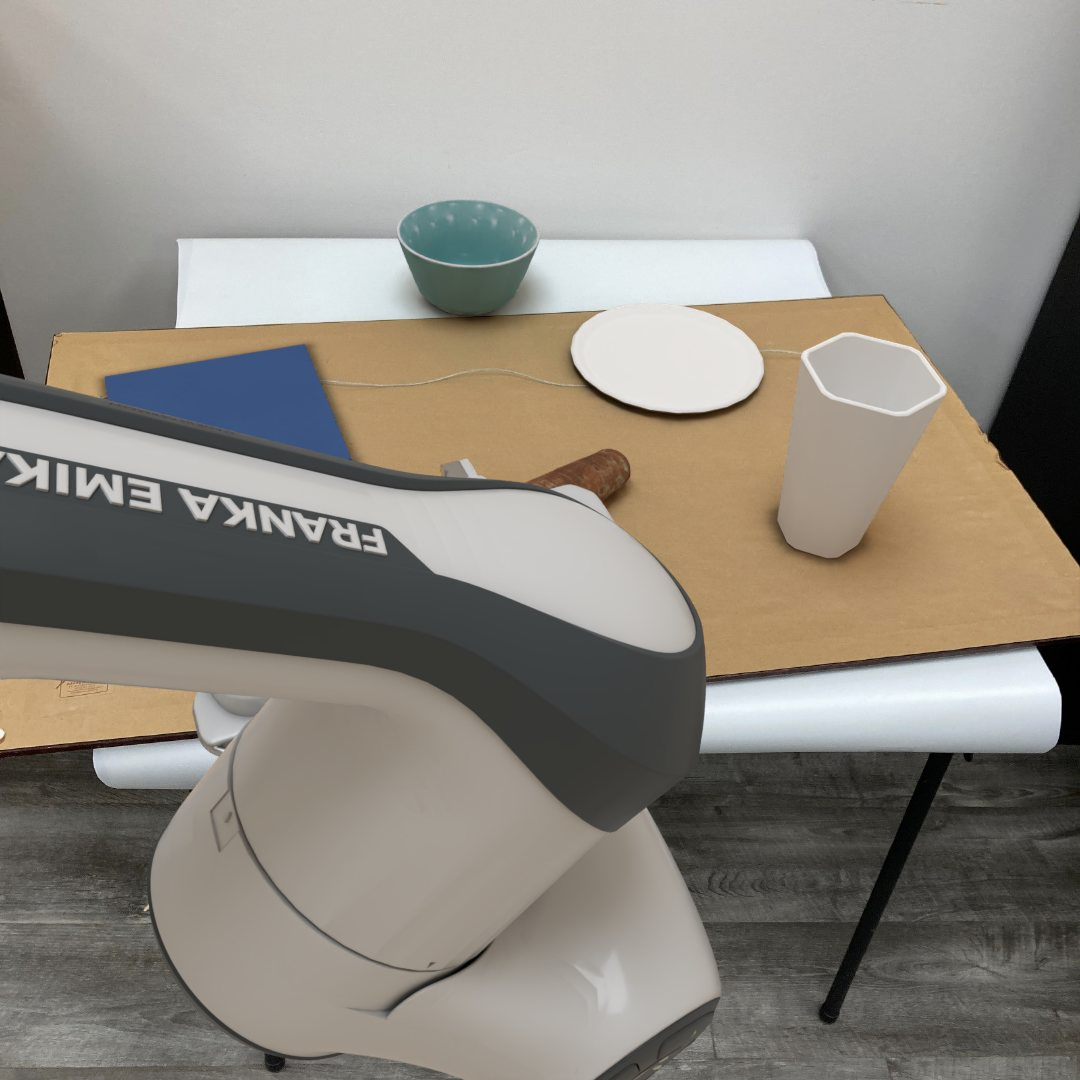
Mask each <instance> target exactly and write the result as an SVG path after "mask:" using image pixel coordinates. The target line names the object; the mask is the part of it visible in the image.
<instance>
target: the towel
mask: <svg viewBox="0 0 1080 1080" xmlns="http://www.w3.org/2000/svg"><path fill="white" fill-rule="evenodd" d="M104 382H105V388H106V395H107V400H109V401H114V402H118V403H122V404H126V405H130V406H134V407H138V408H142V409H146V410H150V411H154V412H158V413H162V414H166V415H170V416H174V417H178V418H182V419H186V420H190V421H194V422H198V423H202V424H206V425H210V426H215V427H219V428H223V429H227V430H231V431H235V432H239V433H243V434H247V435H251V436H255V437H259V438H263V439H267V440H271V441H276V442H280V443H284V444H288V445H292V446H296V447H300V448H304V449H308V450H312V451H316V452H320V453H324V454H328V455H332V456H336V457H340V458H344V459H348V460H352V457H351V454H350V452H349V450H348V449H349V448H348V447H347V444H346V441H345V439H344V437H343V434H342V432H341V430H340V427H339V424H338V422H337V420H336V417H335V414H334V412H333V410H332V407H331V405H330V403H329V400H328V397H327V394H326V393H325V390H324V388H323V385H322V382H321V380H320V378H319V375H318V373H317V370H316V368H315V366H314V363H313V361H312V358H311V355H310V352H309V351H308V349H307V346H306V344H305V343H302V344H295V345H289V346H283V347H277V348H271V349H265V350H260V351H259V350H258V351H254V352H253V351H252V352H247V353H241V354H234V355H229V356H222V357H217V358H209V359H204V360H197V361H192V362H185V363H179V364H172V365H167V366H160V367H155V368H147V369H143V370H136V371H129V372H124V373H117V374H111V375H105V376H104Z"/></svg>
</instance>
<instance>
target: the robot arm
mask: <svg viewBox="0 0 1080 1080" xmlns="http://www.w3.org/2000/svg"><path fill="white" fill-rule="evenodd" d="M439 472H440V474H441V475H432V474H423V473H415V472H409V471H402V470H396V469H391V468H387V467H381V466H378V465H373V464H369V463H364V462H360V461H355V460H353V459H351V460H348V459H344V458H340V457H336V456H332V455H328V454H324V453H320V452H316V451H312V450H308V449H304V448H300V447H296V446H292V445H288V444H284V443H280V442H276V441H271V440H267V439H263V438H259V437H255V436H251V435H247V434H243V433H239V432H235V431H231V430H227V429H223V428H219V427H215V426H210V425H206V424H202V423H198V422H194V421H190V420H186V419H182V418H178V417H174V416H170V415H166V414H162V413H158V412H154V411H150V410H146V409H142V408H138V407H134V406H130V405H126V404H122V403H118V402H114V401H109V400H108V399H105V398H100V397H97V396H92V395H89V394H85V393H81V392H77V391H73V390H68V389H65V388H60V387H56V386H52V385H48V384H44V383H39V382H36V381H32V380H27V379H24V378H20V377H15V376H12V375H6V374H4V373H3V374H2V373H0V681H3V680H45V681H46V680H47V681H60V682H71V683H72V682H74V683H85V684H95V685H96V684H97V685H107V686H122V687H131V688H132V687H133V688H143V689H157V690H169V691H181V692H193V693H195V696H194V699H193V702H192V712H191V713H192V717H193V721H194V725H195V730H196V734H197V739H198V741H199V743H200V744H201V746H202V747H203V748H204V749H205V751H207V752H208V753H210V754H212V755H214V756H216V757H217V758H216V759H215V761H214V762H213V764H212V765H211V766H210V767H209V769H208V770H207V771H206V773H205V774H204V775H203V776H202V777H201V779H200V780H199V781H198V782H197V784H196V785H195V786H194V788H193V789H191V791H190V793H189V794H188V795H187V797H186V798H185V799H184V800H183V802H182V803H181V805H180V806H179V807H178V809H177V810H176V812H175V814H174V815H173V817H172V819H171V820H170V821H169V822H168V823H167V824H166V826H164V828H163V829H162V831H161V832H160V834H159V835H158V838H157V839H156V841H155V843H154V846H153V848H152V852H151V854H150V855H151V856H150V858H149V864H148V869H147V879H146V881H147V882H146V885H147V886H146V892H147V893H146V894H147V902H148V912H149V918H150V923H151V927H152V930H153V931H152V932H153V934H154V937H155V940H156V943H157V947H158V950H159V951H160V954H161V956H162V959H163V961H164V964H165V965H166V967H167V970H168V971H169V973H170V975H171V976H172V978H173V980H174V982H175V983H176V984H177V986H178V987H179V989H180V990H181V992H182V993H183V995H184V996H185V997H186V998H187V999H188V1001H189V1002H190V1003H191V1004H192V1006H193V1007H194V1008H195V1009H196V1010H197V1011H198V1013H200V1014H201V1015H202V1016H203V1017H204V1018H205V1019H206V1020H207V1022H209V1023H210V1024H211V1025H212V1026H214V1027H215V1028H217V1030H219V1031H221V1032H222V1033H224V1034H225V1035H226V1036H228V1037H229V1038H230V1039H232V1040H234V1041H236V1042H237V1043H240V1044H241V1045H244V1046H245V1047H248V1048H250V1049H253V1050H256V1051H258V1052H260V1053H263V1054H268V1055H270V1056H275V1057H279V1058H283V1059H288V1060H295V1061H319V1060H325V1059H330V1058H334V1057H338V1056H339V1057H340V1056H342V1055H345V1054H346V1055H347V1054H348V1055H354V1056H355V1055H356V1056H363V1057H372V1058H379V1059H384V1060H388V1061H389V1060H390V1061H394V1062H395V1061H396V1062H400V1063H404V1064H409V1065H414V1066H418V1067H422V1068H426V1069H430V1070H433V1071H437V1072H439V1073H444V1074H447V1075H450V1076H453V1077H456V1078H458V1079H461V1080H648V1079H650V1078H651V1077H652V1076H653V1075H654V1074H655V1073H657V1072H658V1071H659V1070H660V1069H662V1068H663V1067H664V1066H666V1065H667V1064H668V1063H669V1062H670V1061H672V1060H673V1059H674V1058H676V1056H678V1055H679V1054H680V1053H681V1052H683V1051H684V1050H686V1049H687V1048H688V1047H689V1046H691V1045H692V1044H693V1043H694V1042H695V1041H696V1040H697V1039H698V1038H699V1037H700V1036H701V1034H702V1033H703V1032H704V1031H705V1030H706V1029H707V1027H708V1026H709V1025H710V1024H711V1022H712V1020H713V1019H714V1016H715V1012H716V1009H717V1007H718V1005H719V1002H720V1000H721V998H722V981H721V977H720V972H719V968H718V965H717V961H716V957H715V954H714V951H713V949H712V945H711V943H710V939H709V937H708V934H707V931H706V929H705V926H704V924H703V920H702V918H701V916H700V913H699V911H698V907H696V904H695V901H694V899H693V897H692V895H691V893H690V890H689V888H688V885H687V883H686V881H685V879H684V877H683V875H682V872H681V870H680V868H679V866H678V864H677V862H676V860H675V858H674V856H673V855H672V852H671V850H670V848H669V846H668V843H666V840H665V839H664V837H663V835H662V833H661V831H660V829H659V827H658V825H657V823H656V822H655V819H654V818H653V816H652V815H651V813H650V811H649V809H648V807H649V806H651V805H652V804H653V803H654V802H655V801H657V800H658V799H659V798H661V797H662V796H663V795H665V793H667V792H668V791H670V790H671V789H672V788H673V787H674V786H676V785H677V784H678V783H679V782H681V781H682V780H683V779H685V778H686V777H688V775H690V774H691V773H692V772H693V771H694V770H695V769H696V767H697V765H698V762H699V757H700V749H701V744H702V738H703V732H704V724H705V713H706V700H707V699H706V697H707V660H706V659H707V658H706V644H705V643H706V642H705V637H704V629H703V624H702V620H701V618H700V615H699V613H698V610H697V608H696V607H695V604H694V603H693V601H692V599H691V598H690V596H689V595H688V593H687V591H686V590H685V589H684V588H683V586H682V585H681V583H680V582H679V581H678V579H677V578H676V577H675V576H674V575H673V573H672V572H671V571H670V570H669V569H668V568H667V567H666V565H664V563H663V562H661V560H660V559H659V558H658V557H657V556H656V555H655V554H654V553H652V552H651V551H650V549H648V548H647V547H646V546H645V545H644V544H643V543H641V542H640V541H639V540H638V539H637V538H635V537H634V536H633V535H631V533H629V532H628V531H626V530H625V529H624V528H622V526H620V525H619V524H617V523H616V522H615V520H614V519H613V517H612V515H611V514H610V511H608V509H607V507H606V506H605V504H604V503H603V501H602V502H601V500H600V499H599V498H598V497H597V495H596V494H594V493H593V492H591V491H589V490H586V489H584V488H581V487H578V486H575V485H563V486H560V487H556V488H552V489H548V488H545V487H541V486H537V485H533V484H528V483H525V482H521V481H514V480H512V481H511V480H505V479H493V478H487V477H485V476H483V475H481V474H480V475H478V473H477V471H476V470H475V468H474V465H472V462H471V461H470V459H469V458H461V459H459V460H455V461H451V462H447V463H442V464H440V466H439Z"/></svg>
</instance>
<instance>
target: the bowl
mask: <svg viewBox="0 0 1080 1080" xmlns="http://www.w3.org/2000/svg"><path fill="white" fill-rule="evenodd" d="M396 237H397V240H398V243H399V245H400V248H401V250H402V253H403V256H404V259H405V261H406V263H407V266H408V268H409V270H410V273H411V276H412V277H413V279H414V282H415V284H416V287H417V288H418V291H419V293H420V294H421V296H422V297H423V298H424V299H425V300H426V301H428V302H429V303H430V304H431V305H433V306H435V307H436V308H438V309H440V310H441V311H443V312H446V313H449V314H451V315H452V314H453V315H458V316H466V317H467V316H469V317H471V316H473V317H475V316H483V315H486V314H490V313H493V312H495V311H497V310H499V309H500V308H503V306H505V305H507V304H508V303H510V302H511V301H512V300H513V299H514V297H515V296H516V294H517V292H518V290H519V288H520V286H521V284H522V283H523V280H524V277H525V276H526V274H527V271H528V269H529V267H530V265H531V263H532V261H533V258H534V255H535V253H536V251H537V248H538V246H539V244H540V239H541V233H540V229H539V227H538V226H537V224H536V223H535V222H534V220H532V219H531V218H530V217H529V216H528V215H526V214H525V213H524V212H521V211H519V210H518V209H515V208H513V207H511V206H508V205H505V204H502V203H499V202H494V201H490V200H484V199H477V198H447V199H441V200H435V201H430V202H427V203H424V204H420V205H419V206H416V207H415V208H412V209H411V210H409V211H407V213H405V214H403V216H402V217H401V218H400V220H399V221H398V223H397V226H396Z"/></svg>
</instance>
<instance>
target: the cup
mask: <svg viewBox="0 0 1080 1080" xmlns="http://www.w3.org/2000/svg"><path fill="white" fill-rule="evenodd" d="M796 381H797V382H796V389H795V396H794V401H793V409H792V414H791V415H792V416H791V423H790V430H789V436H788V442H787V443H788V444H787V450H786V457H785V464H784V470H783V477H782V485H781V492H780V499H779V504H778V505H779V506H778V511H777V519H776V522H777V524H778V526H779V528H780V530H781V532H782V534H783V537H784V538H785V541H786V543H787V544H789V545H790V546H791V547H792V548H794V550H795V549H796V550H799V551H802V552H805V553H808V554H811V555H815V556H818V557H821V558H824V559H837V558H839V557H841V556H843V555H844V554H846V553H847V552H849V551H850V550H852V549H853V548H855V547H856V546H858V545H859V543H860V542H861V541H862V539H863V538H864V536H865V534H866V532H867V530H868V528H869V526H870V525H871V524H872V521H873V520H874V518H875V517H876V515H877V513H878V511H879V510H880V509H881V507H882V504H883V503H884V501H885V500H886V498H887V497H888V494H889V493H890V491H891V489H892V488H893V486H894V485H895V483H896V481H897V479H898V478H899V475H900V474H901V472H902V471H903V469H904V467H905V466H906V464H907V462H908V461H909V459H910V457H911V455H912V453H913V452H914V450H915V448H916V447H917V445H918V444H919V441H920V440H921V438H922V436H923V435H924V434H925V431H926V430H927V428H928V426H929V424H930V423H931V422H932V420H933V417H934V416H935V414H936V413H937V411H938V409H939V408H940V406H941V404H942V403H943V401H944V399H945V398H946V396H947V392H948V387H947V385H946V384H945V383H944V381H943V380H942V378H941V377H940V376H939V374H938V373H937V372H936V371H935V369H934V368H933V366H932V365H931V364H930V363H929V361H928V360H927V359H926V357H925V355H923V353H922V351H920V350H918V349H917V348H915V347H913V346H910V345H906V344H901V343H897V342H894V341H889V340H885V339H882V338H878V337H875V336H874V337H873V336H869V335H866V334H861V333H857V332H852V331H851V332H842V333H839V334H837V335H835V336H833V337H831V338H829V339H826V340H824V341H822V342H820V343H818V344H816V345H813V346H812V347H809V348H807V349H805V350H803V351H802V353H801V356H800V361H799V367H798V374H797V380H796Z"/></svg>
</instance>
